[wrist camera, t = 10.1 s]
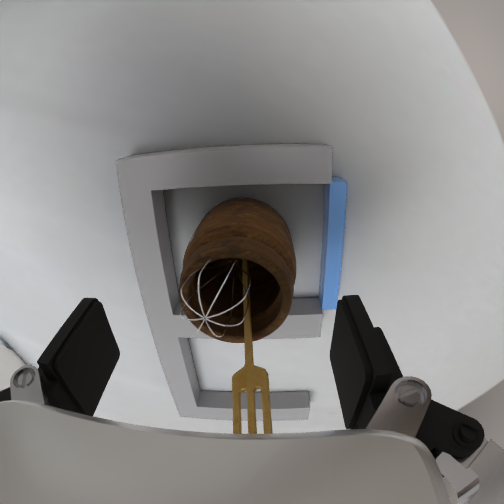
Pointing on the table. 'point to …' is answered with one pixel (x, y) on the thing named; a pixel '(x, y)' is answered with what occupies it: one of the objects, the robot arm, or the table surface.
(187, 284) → the utensil holder
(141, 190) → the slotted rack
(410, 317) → the table surface
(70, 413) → the robot arm
